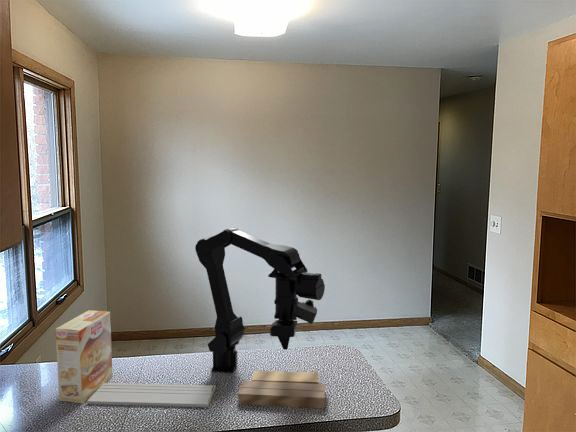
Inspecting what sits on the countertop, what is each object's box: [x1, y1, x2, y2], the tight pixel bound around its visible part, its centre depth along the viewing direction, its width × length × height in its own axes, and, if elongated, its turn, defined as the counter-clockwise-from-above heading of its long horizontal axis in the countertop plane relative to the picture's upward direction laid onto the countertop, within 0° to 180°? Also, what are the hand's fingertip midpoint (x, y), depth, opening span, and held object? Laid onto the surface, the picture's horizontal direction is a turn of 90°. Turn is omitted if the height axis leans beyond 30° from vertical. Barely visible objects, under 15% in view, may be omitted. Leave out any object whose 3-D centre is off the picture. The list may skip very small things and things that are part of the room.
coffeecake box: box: [55, 309, 114, 404], centre depth 125 cm, size 15×7×20 cm, turn 171°
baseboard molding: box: [86, 381, 218, 408], centre depth 124 cm, size 31×3×12 cm
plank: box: [251, 370, 319, 384], centre depth 129 cm, size 18×6×3 cm, turn 87°
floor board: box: [237, 380, 326, 409], centre depth 122 cm, size 22×8×3 cm, turn 85°
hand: (285, 349), depth 129 cm, fingers closed
